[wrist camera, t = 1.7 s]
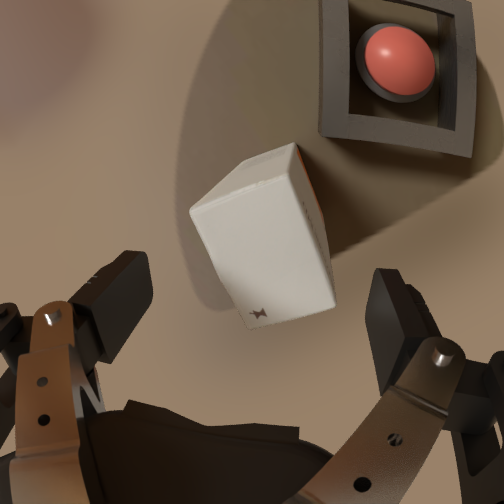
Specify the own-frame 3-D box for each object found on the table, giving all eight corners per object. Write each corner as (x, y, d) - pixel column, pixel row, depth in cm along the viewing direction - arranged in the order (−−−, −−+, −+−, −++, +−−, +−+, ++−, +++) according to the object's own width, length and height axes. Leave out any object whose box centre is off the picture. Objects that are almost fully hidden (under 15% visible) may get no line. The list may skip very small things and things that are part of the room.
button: (432, 34, 14) (440, 30, 13) (432, 109, 17) (440, 109, 16) (353, 18, 15) (357, 13, 14) (354, 96, 18) (358, 95, 16)
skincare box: (324, 214, 23) (340, 311, 12) (272, 231, 24) (246, 335, 14) (296, 138, 21) (290, 170, 10) (240, 159, 22) (181, 212, 12)
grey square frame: (448, 14, 14) (471, 2, 11) (446, 148, 19) (471, 158, 16) (318, -10, 16) (320, -32, 12) (318, 131, 20) (321, 136, 17)
